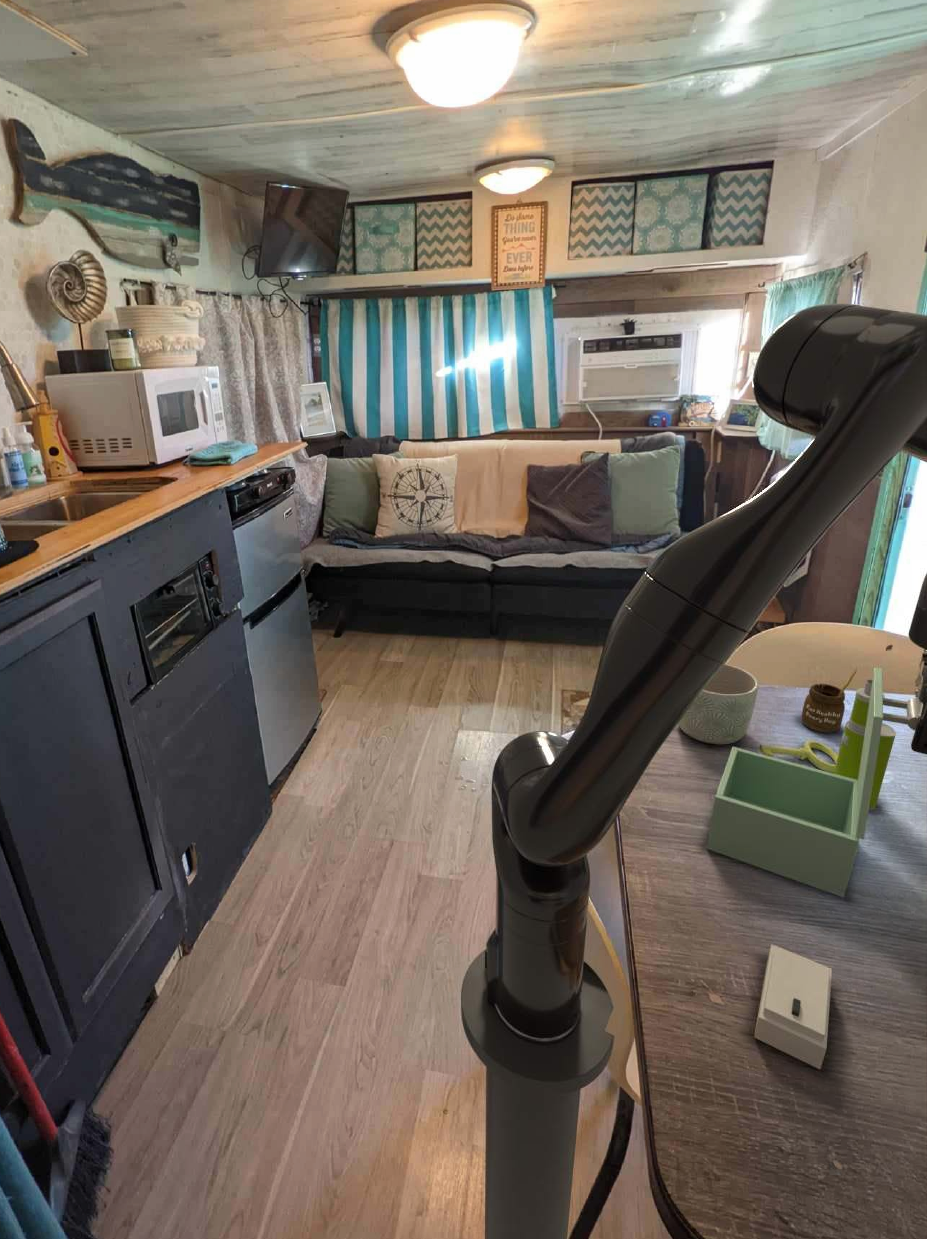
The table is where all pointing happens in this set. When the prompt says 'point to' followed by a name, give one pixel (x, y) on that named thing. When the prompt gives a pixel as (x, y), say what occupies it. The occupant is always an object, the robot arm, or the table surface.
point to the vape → (854, 741)
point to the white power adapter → (795, 1006)
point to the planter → (722, 707)
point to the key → (804, 753)
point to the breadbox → (786, 819)
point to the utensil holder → (824, 706)
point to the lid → (877, 742)
